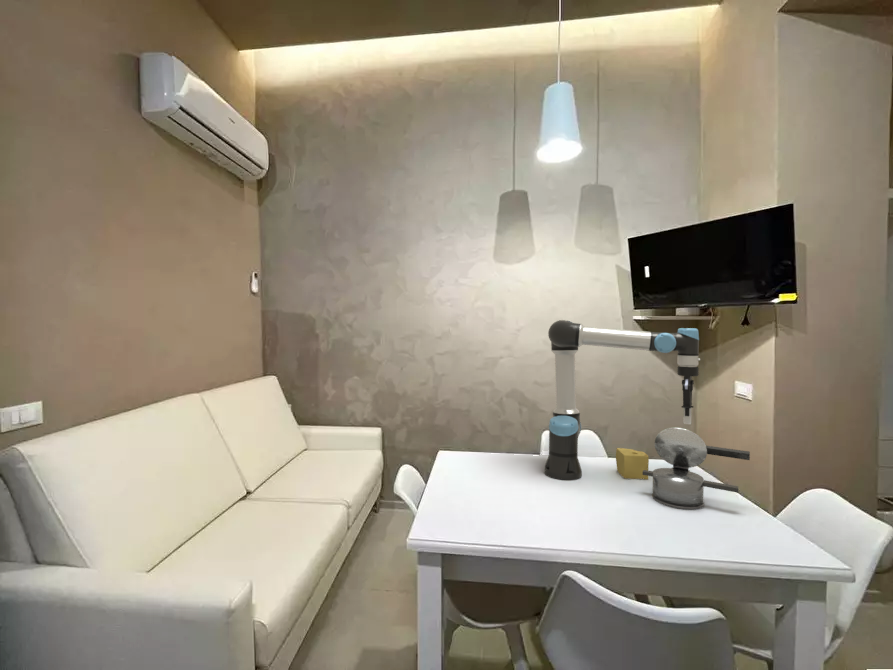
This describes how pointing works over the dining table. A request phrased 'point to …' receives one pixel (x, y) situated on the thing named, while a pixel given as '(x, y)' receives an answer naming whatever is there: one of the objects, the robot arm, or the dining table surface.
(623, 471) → the cheese
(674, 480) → the pot
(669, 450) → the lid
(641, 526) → the dining table surface
